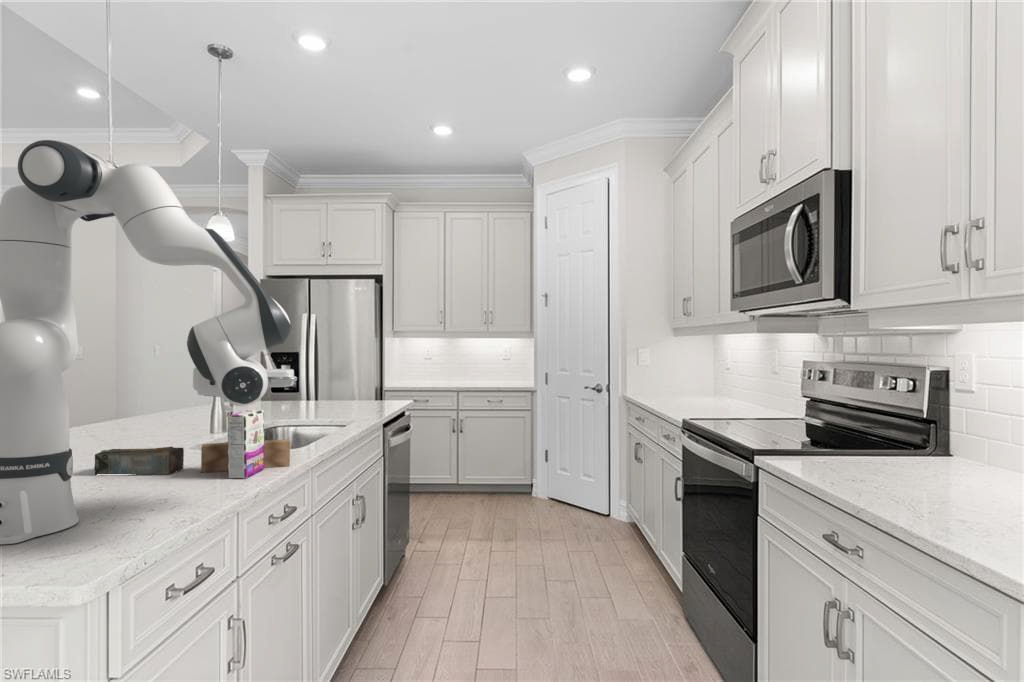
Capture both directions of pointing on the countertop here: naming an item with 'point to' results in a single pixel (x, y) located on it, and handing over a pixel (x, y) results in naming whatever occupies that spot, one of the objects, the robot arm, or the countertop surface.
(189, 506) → the countertop surface
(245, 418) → the candy bar box
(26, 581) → the countertop surface
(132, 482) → the countertop surface
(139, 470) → the beverage carton
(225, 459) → the wooden block
